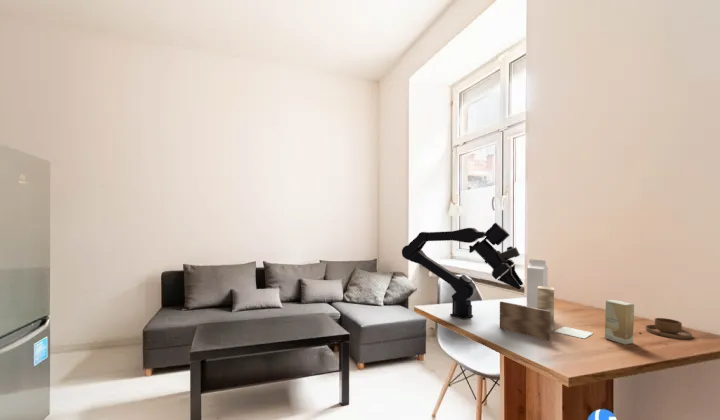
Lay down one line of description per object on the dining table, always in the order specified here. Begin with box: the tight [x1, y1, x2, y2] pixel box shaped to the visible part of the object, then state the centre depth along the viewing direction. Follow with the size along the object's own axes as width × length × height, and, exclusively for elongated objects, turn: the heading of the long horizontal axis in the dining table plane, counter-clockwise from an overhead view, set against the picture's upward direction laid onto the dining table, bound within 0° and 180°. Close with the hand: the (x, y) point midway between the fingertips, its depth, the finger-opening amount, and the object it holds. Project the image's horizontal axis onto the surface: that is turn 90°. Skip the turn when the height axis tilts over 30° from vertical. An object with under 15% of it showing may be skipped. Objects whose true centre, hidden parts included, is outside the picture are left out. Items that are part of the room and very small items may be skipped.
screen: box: [499, 301, 551, 342], centre depth 117 cm, size 16×1×9 cm, turn 41°
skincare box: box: [604, 299, 635, 345], centre depth 112 cm, size 6×4×12 cm
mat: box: [553, 326, 594, 340], centre depth 119 cm, size 9×9×1 cm
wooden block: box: [537, 286, 555, 332], centre depth 123 cm, size 5×5×14 cm
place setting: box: [638, 317, 693, 340], centre depth 124 cm, size 18×20×6 cm
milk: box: [526, 258, 549, 308], centre depth 140 cm, size 6×6×22 cm
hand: (521, 286), depth 127 cm, fingers open, 9 cm apart
